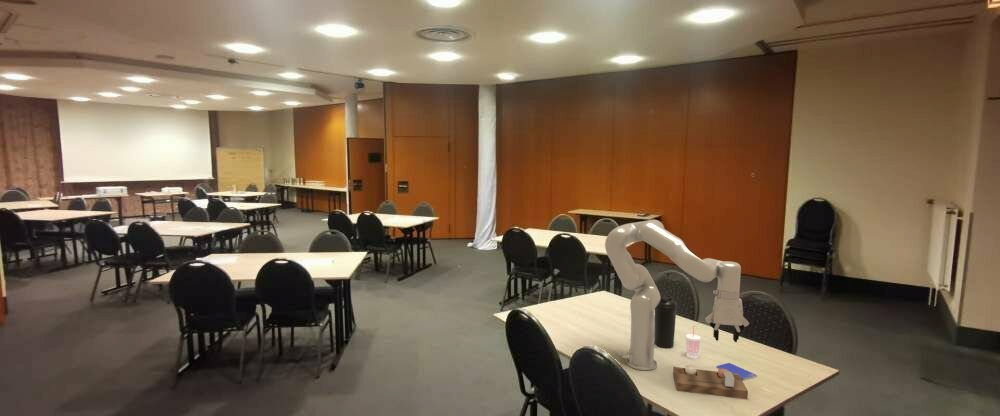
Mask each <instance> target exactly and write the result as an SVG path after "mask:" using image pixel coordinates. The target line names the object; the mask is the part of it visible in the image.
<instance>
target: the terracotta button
mask: <svg viewBox="0 0 1000 416" xmlns="http://www.w3.org/2000/svg"><path fill="white" fill-rule="evenodd" d="M717 370H718V371H717V372H718V378H722V371H726V372H730V371H728V370H726V369H717Z"/></svg>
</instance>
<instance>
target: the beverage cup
mask: <svg viewBox="0 0 1000 416" xmlns="http://www.w3.org/2000/svg"><path fill="white" fill-rule="evenodd" d="M701 339H702V338H701V336H700V335H697V334H695V325H693V326H692V333H687V334H686V335H685V340H686V343H685V344H686V345H685V346H686V357H688V358H689V359H698V357H699V351H700V350H699V349H700V342H701Z"/></svg>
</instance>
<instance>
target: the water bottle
mask: <svg viewBox="0 0 1000 416" xmlns="http://www.w3.org/2000/svg"><path fill="white" fill-rule="evenodd" d="M673 298H674V296H671V295H669V294H668V295H667V294H662V296H661V297H660V302H659V304H658V305H657V307H656V308H655V310H654V318H655V334H654V346H656V347H658V348H660V349H672V348H674V346H675V345H674V343H675V332H676V319H677V316H676V315H677V310H678V304H677V303H676V301H675V300H673Z"/></svg>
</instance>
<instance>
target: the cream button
mask: <svg viewBox="0 0 1000 416" xmlns="http://www.w3.org/2000/svg"><path fill="white" fill-rule="evenodd" d="M684 368H685V374H687V375H696V369H697V367H696V366H694V365H690V364H689V365H688V364H687V365H685V367H684Z"/></svg>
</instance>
